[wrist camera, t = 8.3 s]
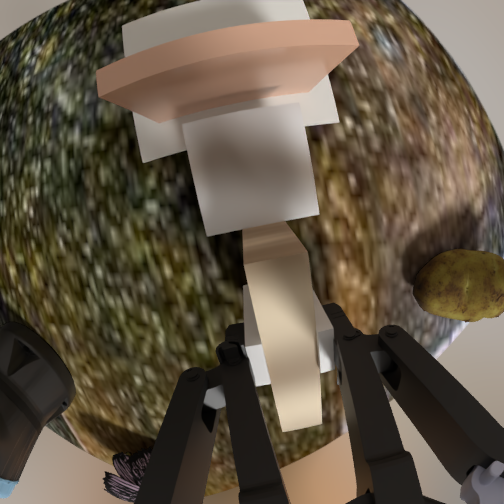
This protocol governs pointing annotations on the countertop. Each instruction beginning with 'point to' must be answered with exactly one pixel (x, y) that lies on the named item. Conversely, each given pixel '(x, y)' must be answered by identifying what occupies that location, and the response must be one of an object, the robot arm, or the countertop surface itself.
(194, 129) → the scraper
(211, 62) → the tile
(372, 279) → the countertop surface
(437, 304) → the potato
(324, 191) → the countertop surface
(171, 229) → the countertop surface
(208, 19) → the mat
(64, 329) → the countertop surface
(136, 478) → the decorative flower
